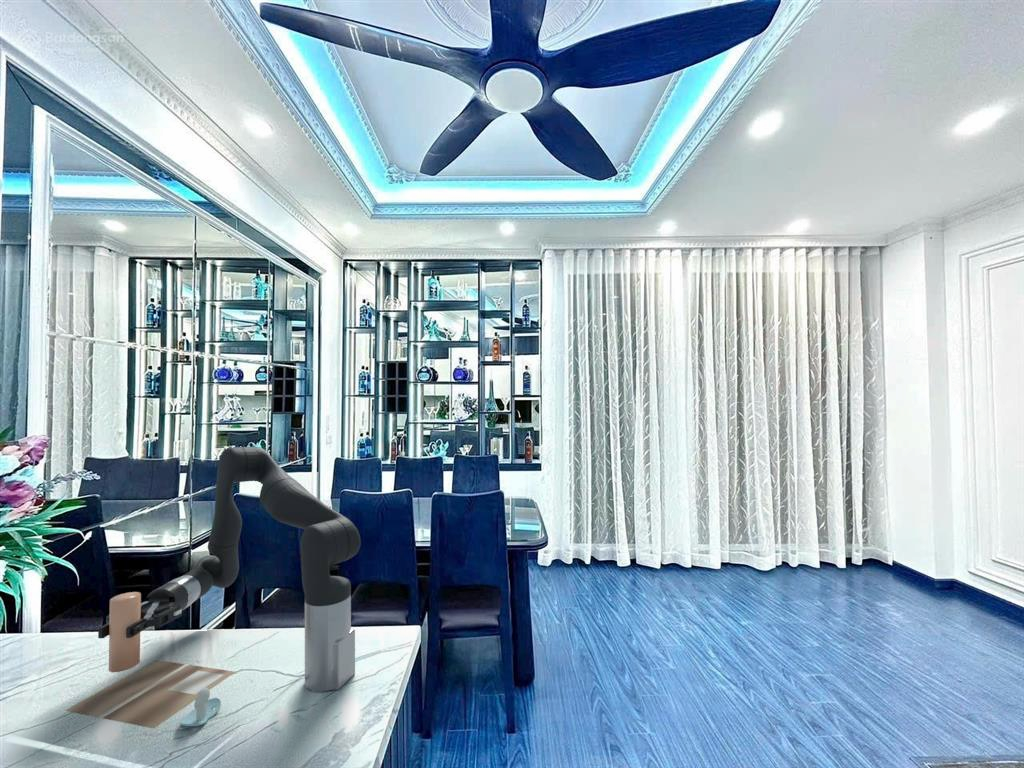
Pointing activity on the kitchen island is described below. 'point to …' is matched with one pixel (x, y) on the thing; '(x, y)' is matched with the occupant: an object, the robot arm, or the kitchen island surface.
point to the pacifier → (200, 710)
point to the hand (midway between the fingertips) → (114, 633)
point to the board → (151, 693)
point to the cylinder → (124, 631)
